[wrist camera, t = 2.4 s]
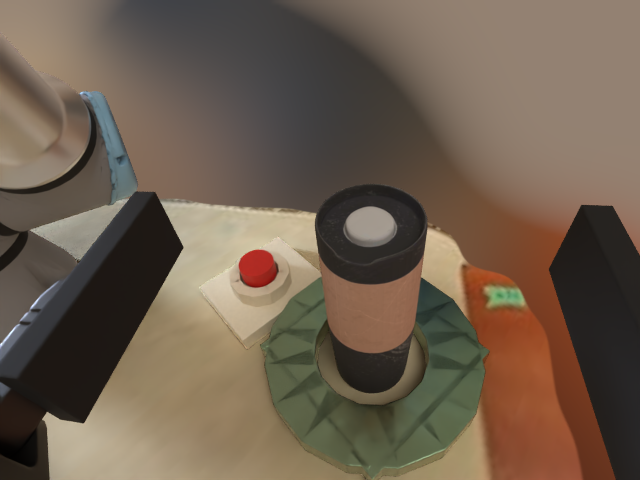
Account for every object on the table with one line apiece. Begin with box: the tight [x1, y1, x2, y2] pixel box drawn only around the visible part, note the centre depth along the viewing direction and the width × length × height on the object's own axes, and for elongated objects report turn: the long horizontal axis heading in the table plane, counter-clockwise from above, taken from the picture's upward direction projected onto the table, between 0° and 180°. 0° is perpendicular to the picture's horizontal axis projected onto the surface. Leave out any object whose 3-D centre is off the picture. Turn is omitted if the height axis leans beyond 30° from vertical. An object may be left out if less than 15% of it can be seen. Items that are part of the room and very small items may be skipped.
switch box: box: [199, 236, 322, 349], centre depth 45 cm, size 10×12×4 cm
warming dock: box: [260, 277, 490, 480], centre depth 39 cm, size 21×21×2 cm
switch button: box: [239, 250, 277, 288], centre depth 44 cm, size 4×4×2 cm
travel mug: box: [315, 184, 427, 393], centre depth 32 cm, size 8×8×20 cm
